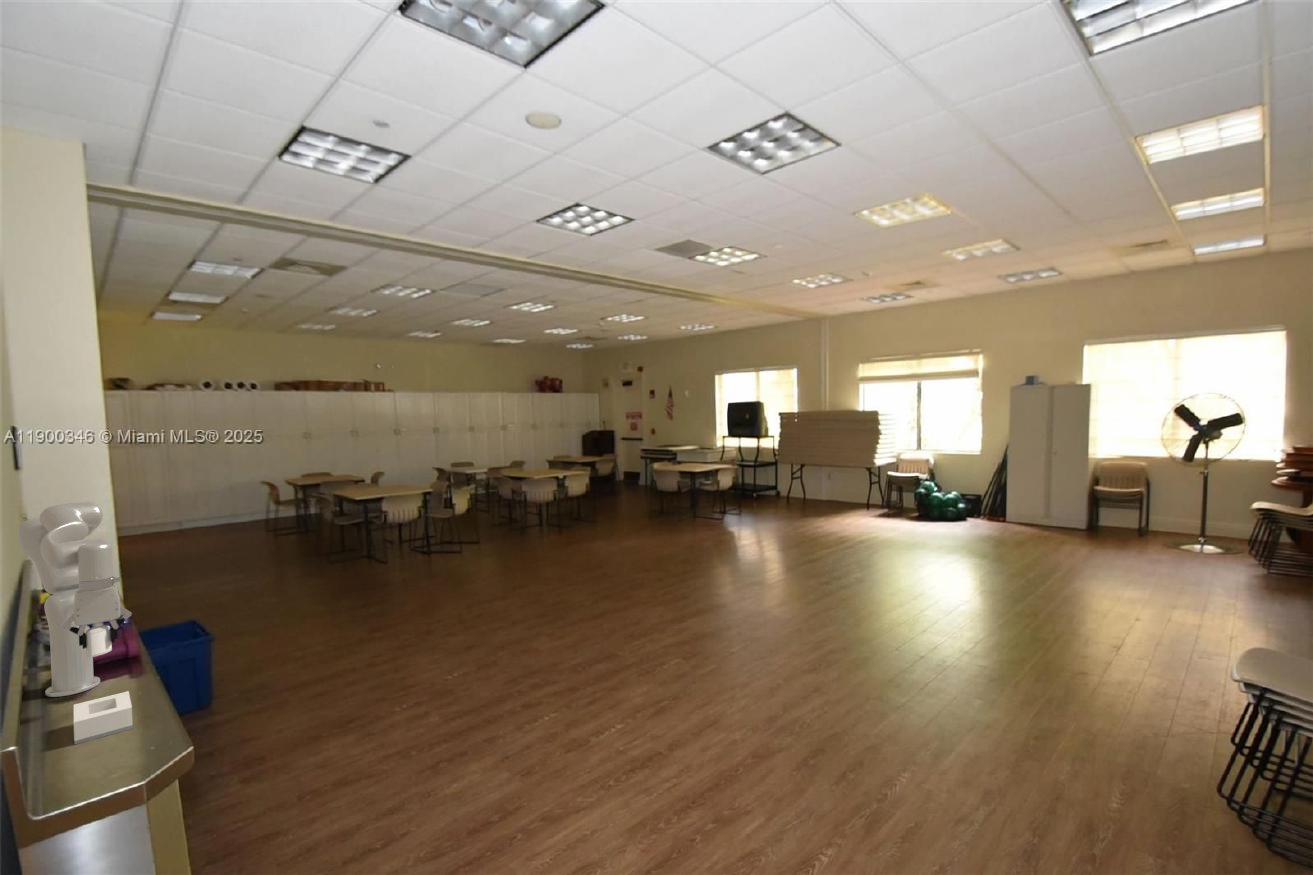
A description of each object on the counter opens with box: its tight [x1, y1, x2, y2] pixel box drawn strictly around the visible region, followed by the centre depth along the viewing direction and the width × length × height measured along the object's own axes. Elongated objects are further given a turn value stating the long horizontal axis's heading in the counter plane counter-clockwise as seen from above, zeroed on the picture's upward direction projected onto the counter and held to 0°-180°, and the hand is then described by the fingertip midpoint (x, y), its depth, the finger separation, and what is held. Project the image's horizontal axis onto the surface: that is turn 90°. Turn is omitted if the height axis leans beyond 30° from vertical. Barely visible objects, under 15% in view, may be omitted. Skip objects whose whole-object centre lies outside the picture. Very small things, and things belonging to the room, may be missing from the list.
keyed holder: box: [73, 690, 134, 745], centre depth 167 cm, size 14×12×6 cm
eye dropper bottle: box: [85, 622, 113, 658], centre depth 178 cm, size 4×6×12 cm
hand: (98, 643), depth 178 cm, fingers closed on eye dropper bottle, 5 cm apart
